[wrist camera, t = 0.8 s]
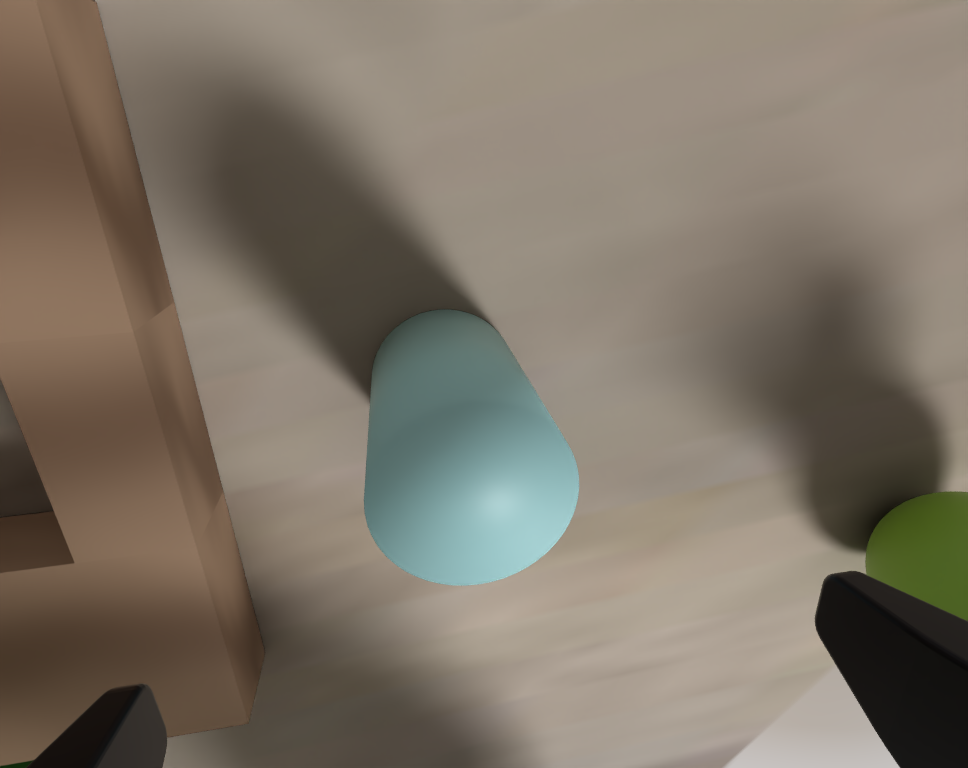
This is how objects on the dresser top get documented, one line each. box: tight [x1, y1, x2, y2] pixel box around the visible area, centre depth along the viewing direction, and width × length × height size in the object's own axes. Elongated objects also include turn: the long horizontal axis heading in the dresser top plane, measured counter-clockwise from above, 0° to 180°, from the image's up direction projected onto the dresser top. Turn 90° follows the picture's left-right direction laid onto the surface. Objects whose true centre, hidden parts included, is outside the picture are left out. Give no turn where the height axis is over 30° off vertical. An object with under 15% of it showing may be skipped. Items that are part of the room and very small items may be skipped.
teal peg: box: [364, 309, 579, 585], centre depth 13 cm, size 4×4×6 cm
